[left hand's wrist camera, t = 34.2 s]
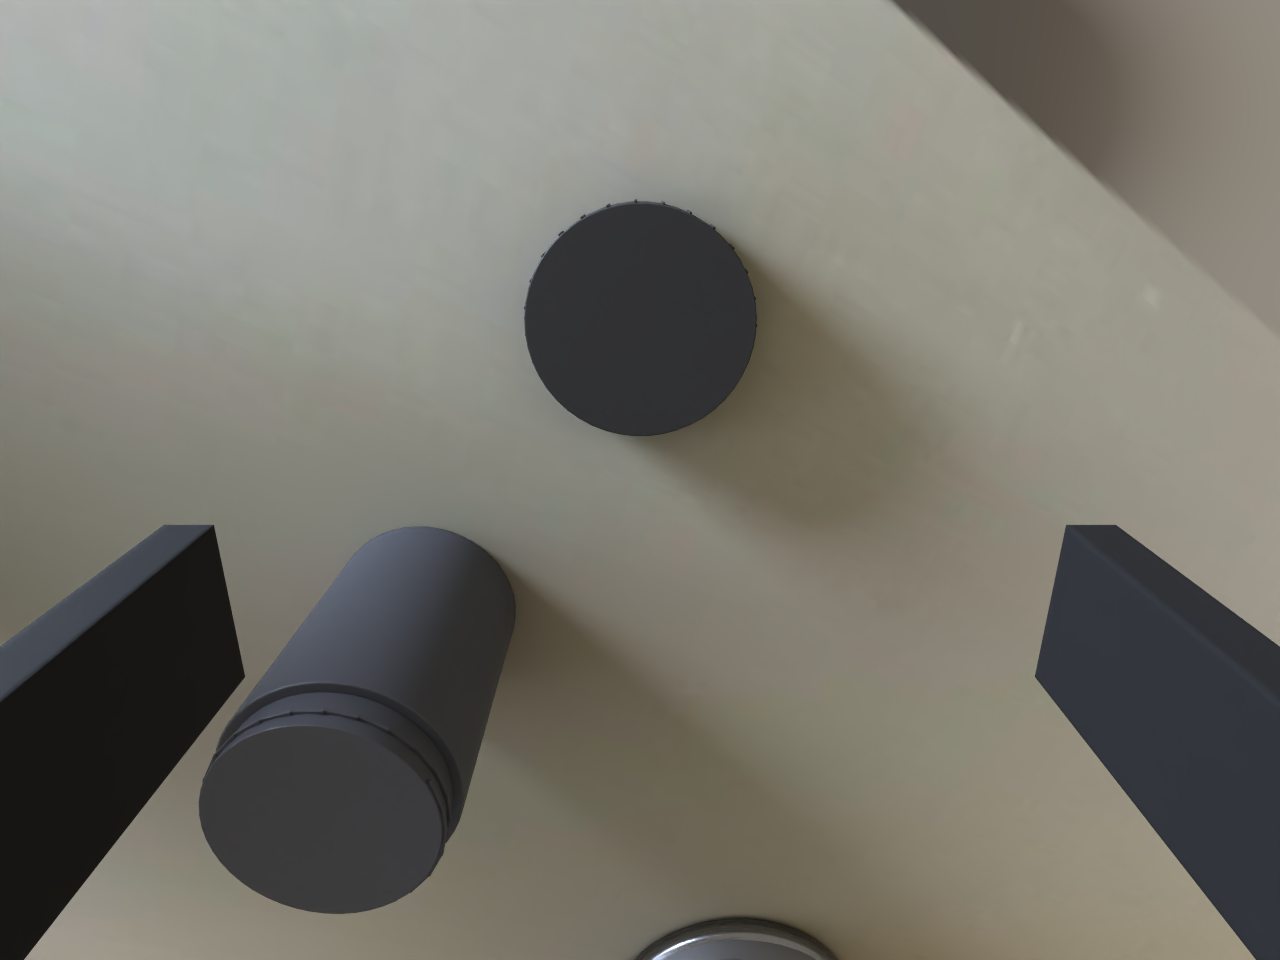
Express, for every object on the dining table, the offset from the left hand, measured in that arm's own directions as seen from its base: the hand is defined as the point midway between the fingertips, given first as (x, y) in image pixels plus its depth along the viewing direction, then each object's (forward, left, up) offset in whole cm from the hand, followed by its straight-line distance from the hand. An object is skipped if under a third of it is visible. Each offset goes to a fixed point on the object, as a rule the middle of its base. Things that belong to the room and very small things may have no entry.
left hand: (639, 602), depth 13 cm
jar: (+3, +18, -26) cm, 32 cm away
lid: (0, 0, -24) cm, 24 cm away
